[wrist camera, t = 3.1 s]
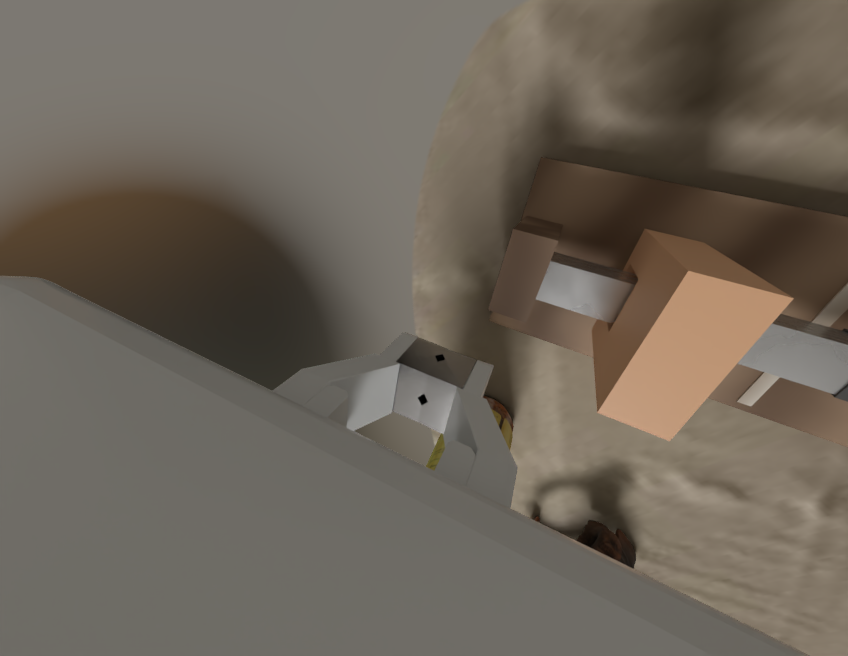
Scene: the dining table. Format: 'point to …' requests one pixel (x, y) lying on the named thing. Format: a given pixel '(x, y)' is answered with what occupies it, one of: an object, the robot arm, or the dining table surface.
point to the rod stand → (701, 221)
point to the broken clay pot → (607, 542)
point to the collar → (678, 332)
